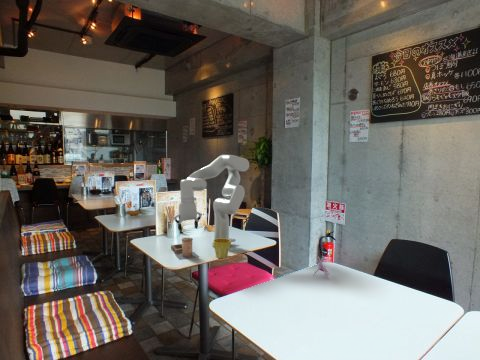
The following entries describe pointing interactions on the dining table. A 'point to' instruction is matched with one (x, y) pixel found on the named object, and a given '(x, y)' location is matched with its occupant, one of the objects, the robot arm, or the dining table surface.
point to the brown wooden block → (187, 247)
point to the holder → (176, 248)
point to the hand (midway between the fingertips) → (188, 229)
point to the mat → (186, 257)
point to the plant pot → (221, 247)
